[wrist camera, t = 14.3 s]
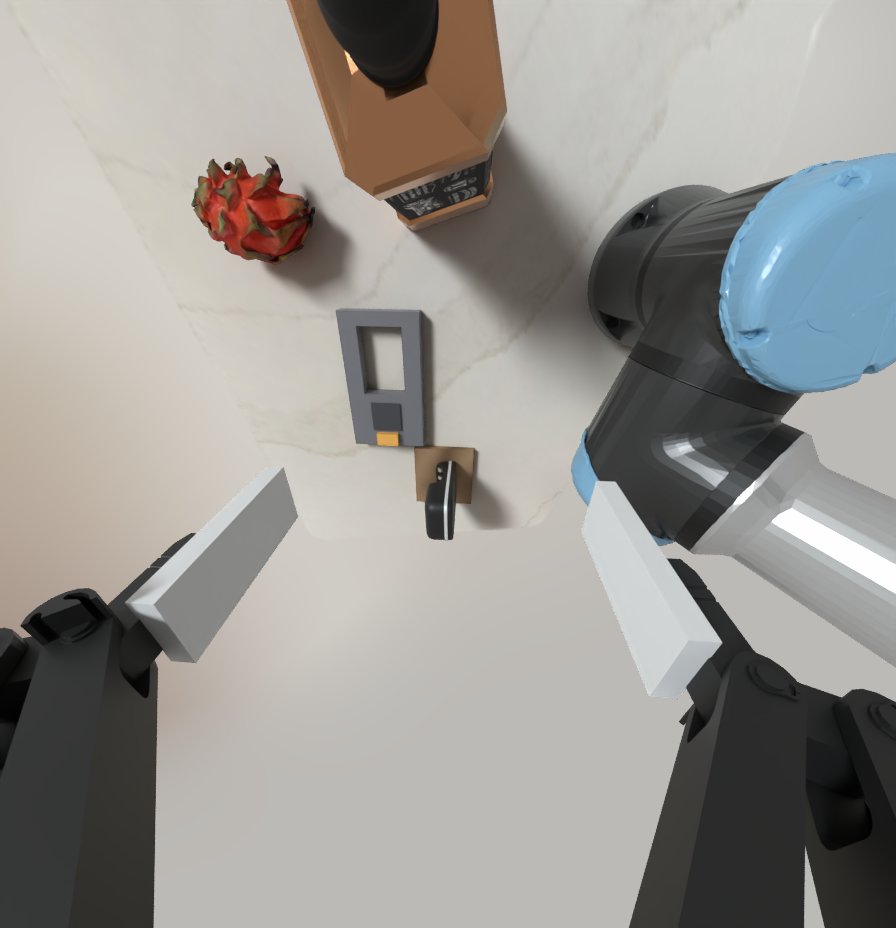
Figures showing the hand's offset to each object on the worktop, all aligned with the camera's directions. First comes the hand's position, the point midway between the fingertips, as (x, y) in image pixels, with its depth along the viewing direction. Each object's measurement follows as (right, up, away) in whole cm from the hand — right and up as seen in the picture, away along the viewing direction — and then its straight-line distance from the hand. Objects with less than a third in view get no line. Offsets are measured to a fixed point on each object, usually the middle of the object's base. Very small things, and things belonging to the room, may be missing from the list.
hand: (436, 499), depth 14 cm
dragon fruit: (-19, +29, +22) cm, 41 cm away
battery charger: (0, -1, +38) cm, 38 cm away
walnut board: (0, 0, +38) cm, 38 cm away
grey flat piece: (-8, +13, +31) cm, 35 cm away
